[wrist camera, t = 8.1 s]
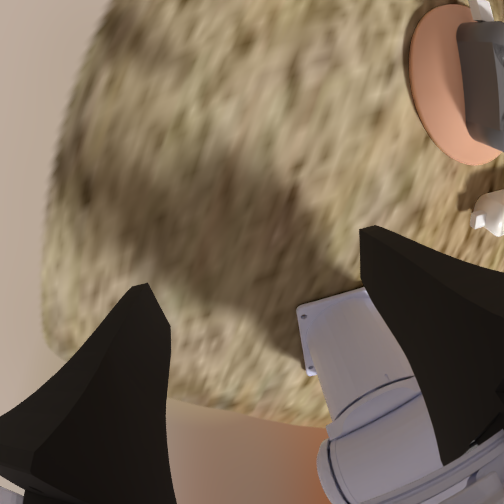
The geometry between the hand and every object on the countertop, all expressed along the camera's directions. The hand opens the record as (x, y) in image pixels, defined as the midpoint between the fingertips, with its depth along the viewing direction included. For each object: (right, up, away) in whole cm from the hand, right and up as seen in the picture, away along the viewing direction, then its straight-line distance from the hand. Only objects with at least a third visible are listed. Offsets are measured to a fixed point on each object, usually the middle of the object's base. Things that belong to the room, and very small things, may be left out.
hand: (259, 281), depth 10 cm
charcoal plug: (+16, +13, +5) cm, 22 cm away
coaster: (+16, +13, +5) cm, 22 cm away
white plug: (+22, +5, +11) cm, 26 cm away
